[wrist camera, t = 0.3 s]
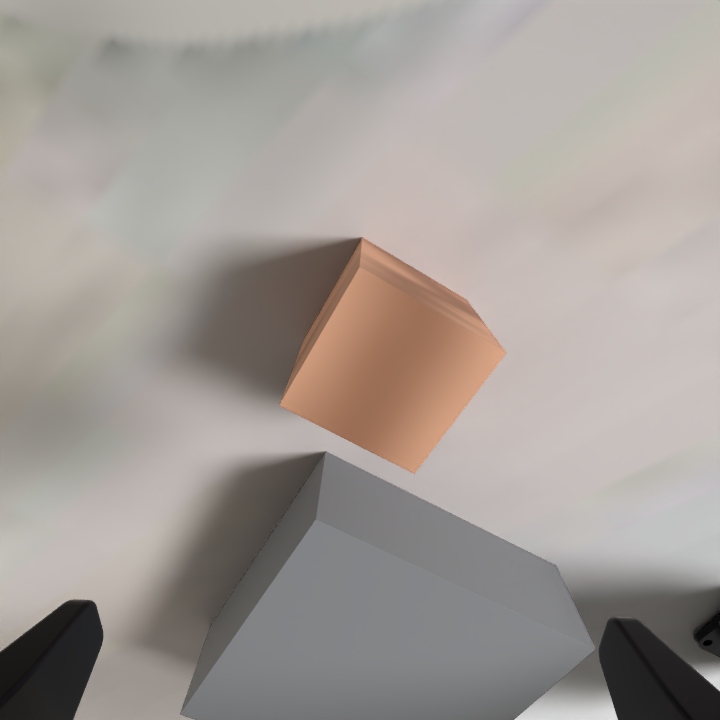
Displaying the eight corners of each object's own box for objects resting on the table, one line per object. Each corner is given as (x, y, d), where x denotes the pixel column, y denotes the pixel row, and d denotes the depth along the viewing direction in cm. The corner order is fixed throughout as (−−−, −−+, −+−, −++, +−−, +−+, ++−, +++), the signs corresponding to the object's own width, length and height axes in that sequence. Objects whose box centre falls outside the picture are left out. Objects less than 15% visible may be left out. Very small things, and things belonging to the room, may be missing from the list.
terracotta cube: (466, 299, 19) (506, 352, 14) (402, 392, 21) (414, 473, 15) (362, 237, 18) (359, 266, 13) (303, 339, 20) (279, 405, 14)
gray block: (553, 559, 25) (595, 648, 20) (412, 701, 30) (421, 799, 25) (326, 447, 22) (315, 519, 18) (211, 621, 27) (180, 714, 22)
